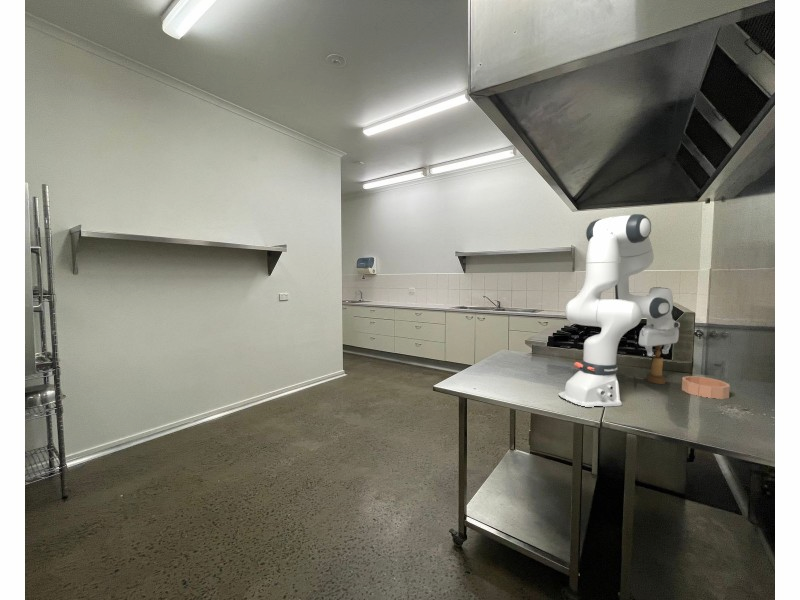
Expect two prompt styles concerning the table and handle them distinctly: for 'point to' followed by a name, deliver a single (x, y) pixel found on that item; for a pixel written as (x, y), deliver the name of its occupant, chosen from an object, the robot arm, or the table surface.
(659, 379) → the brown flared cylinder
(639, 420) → the table surface
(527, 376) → the table surface
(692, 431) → the table surface
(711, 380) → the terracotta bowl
